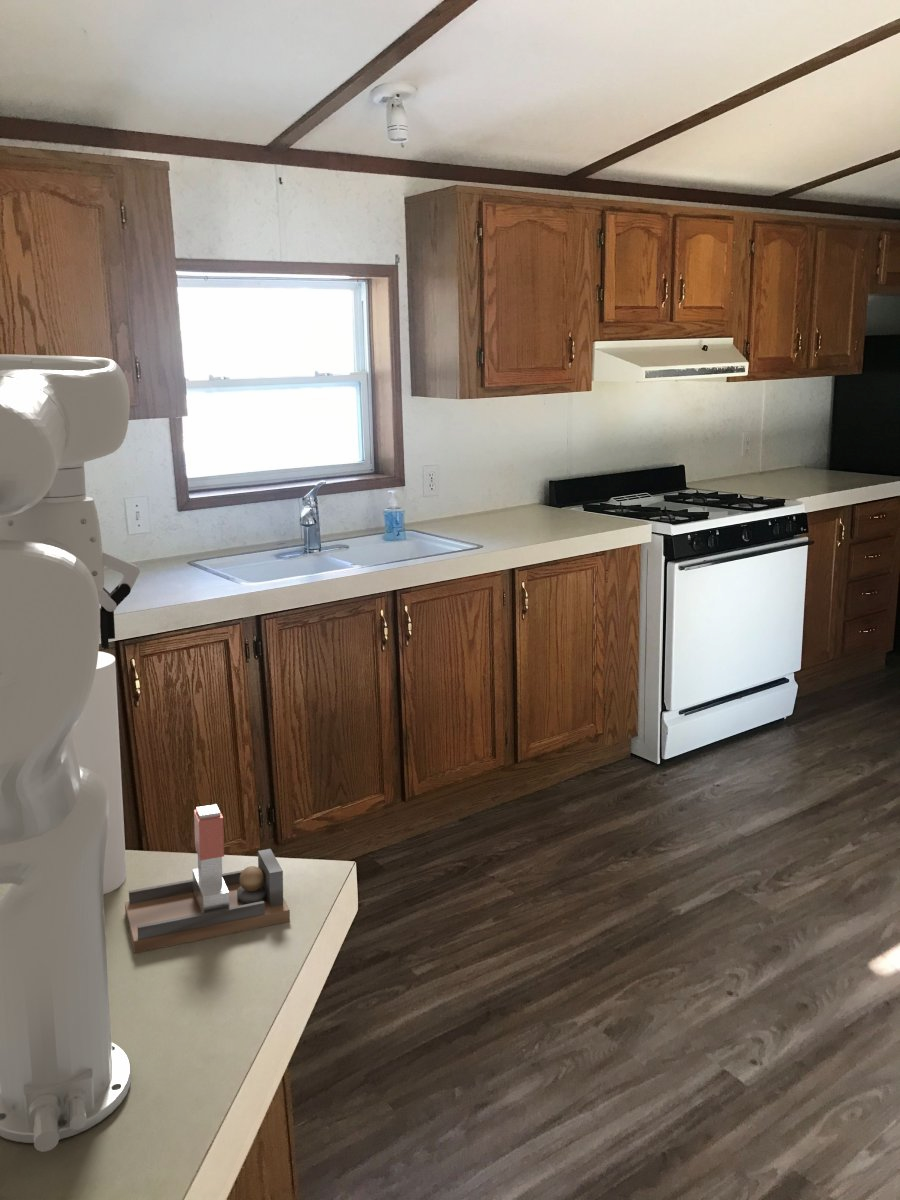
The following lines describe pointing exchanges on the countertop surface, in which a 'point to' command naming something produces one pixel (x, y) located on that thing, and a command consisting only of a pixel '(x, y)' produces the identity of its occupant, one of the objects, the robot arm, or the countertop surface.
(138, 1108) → the countertop surface
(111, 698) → the cylinder container
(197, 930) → the nutcracker board
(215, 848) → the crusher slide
